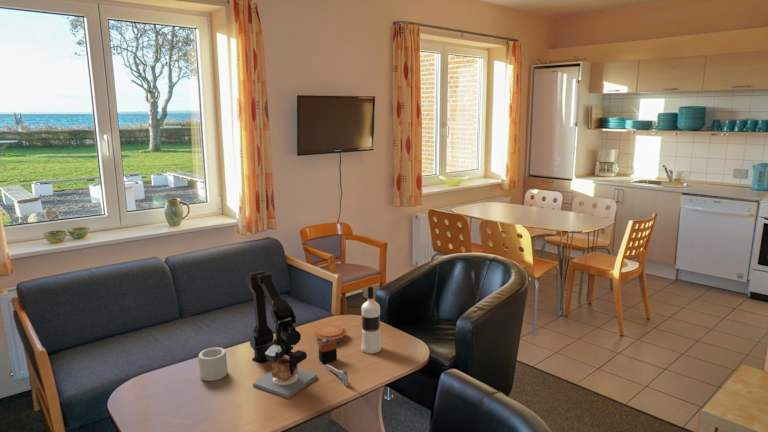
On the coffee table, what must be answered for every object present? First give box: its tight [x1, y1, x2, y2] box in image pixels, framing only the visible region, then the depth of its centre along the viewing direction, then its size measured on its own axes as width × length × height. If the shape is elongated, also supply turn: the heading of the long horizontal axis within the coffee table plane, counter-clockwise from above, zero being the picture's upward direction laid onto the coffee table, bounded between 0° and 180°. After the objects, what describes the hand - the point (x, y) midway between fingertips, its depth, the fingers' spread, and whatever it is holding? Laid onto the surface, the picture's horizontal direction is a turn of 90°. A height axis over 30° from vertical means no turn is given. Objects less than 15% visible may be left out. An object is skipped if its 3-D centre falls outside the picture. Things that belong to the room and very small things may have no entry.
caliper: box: [324, 363, 349, 388], centre depth 213 cm, size 20×1×6 cm, turn 31°
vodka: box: [360, 286, 383, 355], centre depth 233 cm, size 9×9×30 cm
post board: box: [252, 367, 318, 399], centre depth 208 cm, size 18×18×6 cm
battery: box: [318, 338, 338, 365], centre depth 225 cm, size 4×7×10 cm, turn 120°
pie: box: [313, 324, 347, 344], centre depth 247 cm, size 16×16×5 cm
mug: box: [197, 346, 228, 382], centre depth 215 cm, size 14×11×10 cm
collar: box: [271, 355, 298, 381], centre depth 208 cm, size 7×7×6 cm
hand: (285, 372), depth 208 cm, fingers closed on collar, 7 cm apart
